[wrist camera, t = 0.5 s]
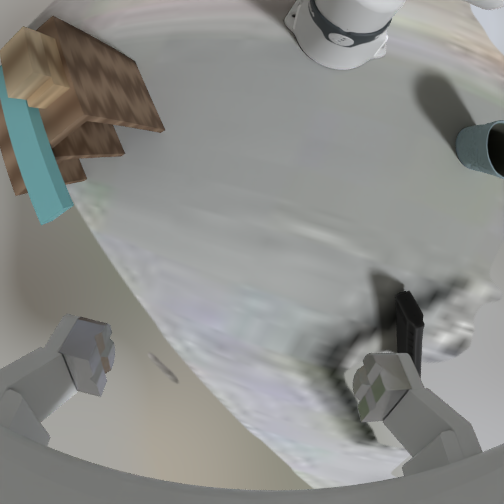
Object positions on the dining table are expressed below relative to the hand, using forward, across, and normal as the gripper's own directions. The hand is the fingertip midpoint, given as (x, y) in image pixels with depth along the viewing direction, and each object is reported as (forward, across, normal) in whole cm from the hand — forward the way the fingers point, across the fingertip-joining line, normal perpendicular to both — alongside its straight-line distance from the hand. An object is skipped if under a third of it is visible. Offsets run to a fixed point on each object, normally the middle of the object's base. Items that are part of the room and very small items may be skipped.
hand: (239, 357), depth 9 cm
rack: (+50, +28, 0) cm, 57 cm away
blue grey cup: (+45, -43, -8) cm, 62 cm away
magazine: (+36, -40, +36) cm, 65 cm away
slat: (+24, +26, -2) cm, 35 cm away
